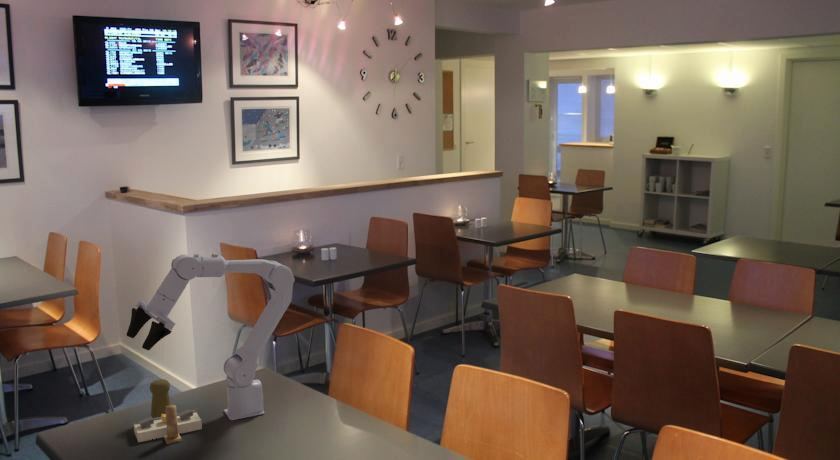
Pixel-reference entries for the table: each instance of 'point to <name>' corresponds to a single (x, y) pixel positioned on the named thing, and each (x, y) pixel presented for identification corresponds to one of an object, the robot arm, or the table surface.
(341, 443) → the table surface
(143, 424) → the rocker
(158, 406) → the cork
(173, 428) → the oak post
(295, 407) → the table surface
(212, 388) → the table surface
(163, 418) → the rocker
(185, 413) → the rocker
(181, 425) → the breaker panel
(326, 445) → the table surface
